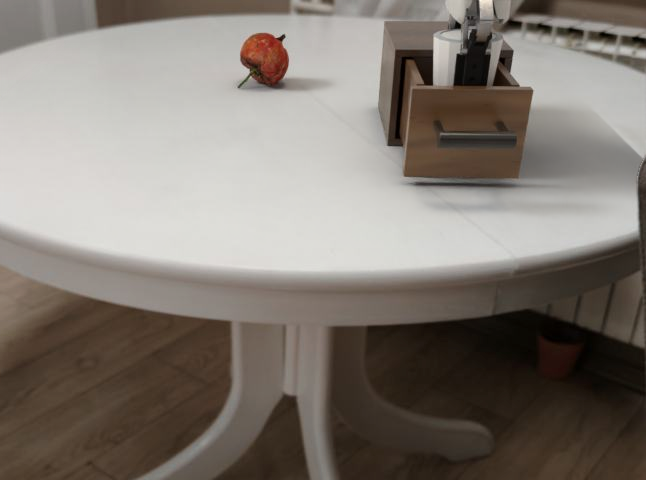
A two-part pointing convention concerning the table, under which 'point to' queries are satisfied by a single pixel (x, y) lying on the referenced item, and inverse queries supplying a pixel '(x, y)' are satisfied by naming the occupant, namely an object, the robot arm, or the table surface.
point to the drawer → (461, 125)
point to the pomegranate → (264, 58)
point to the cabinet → (396, 46)
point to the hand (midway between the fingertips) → (462, 84)
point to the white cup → (446, 53)
